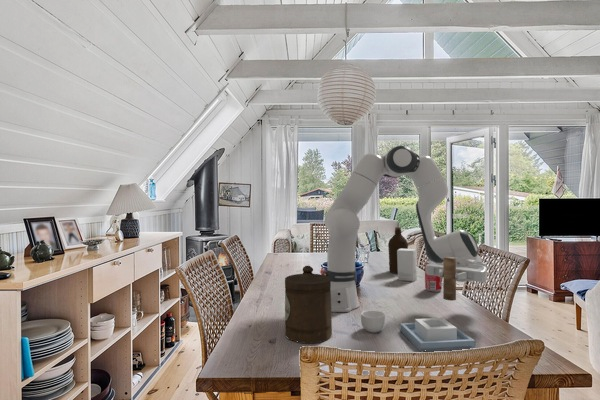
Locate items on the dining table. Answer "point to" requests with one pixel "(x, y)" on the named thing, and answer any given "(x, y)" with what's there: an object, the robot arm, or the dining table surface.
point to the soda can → (432, 281)
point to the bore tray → (436, 344)
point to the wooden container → (308, 307)
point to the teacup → (372, 320)
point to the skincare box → (406, 264)
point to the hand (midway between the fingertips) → (448, 275)
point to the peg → (449, 278)
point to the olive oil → (393, 246)
